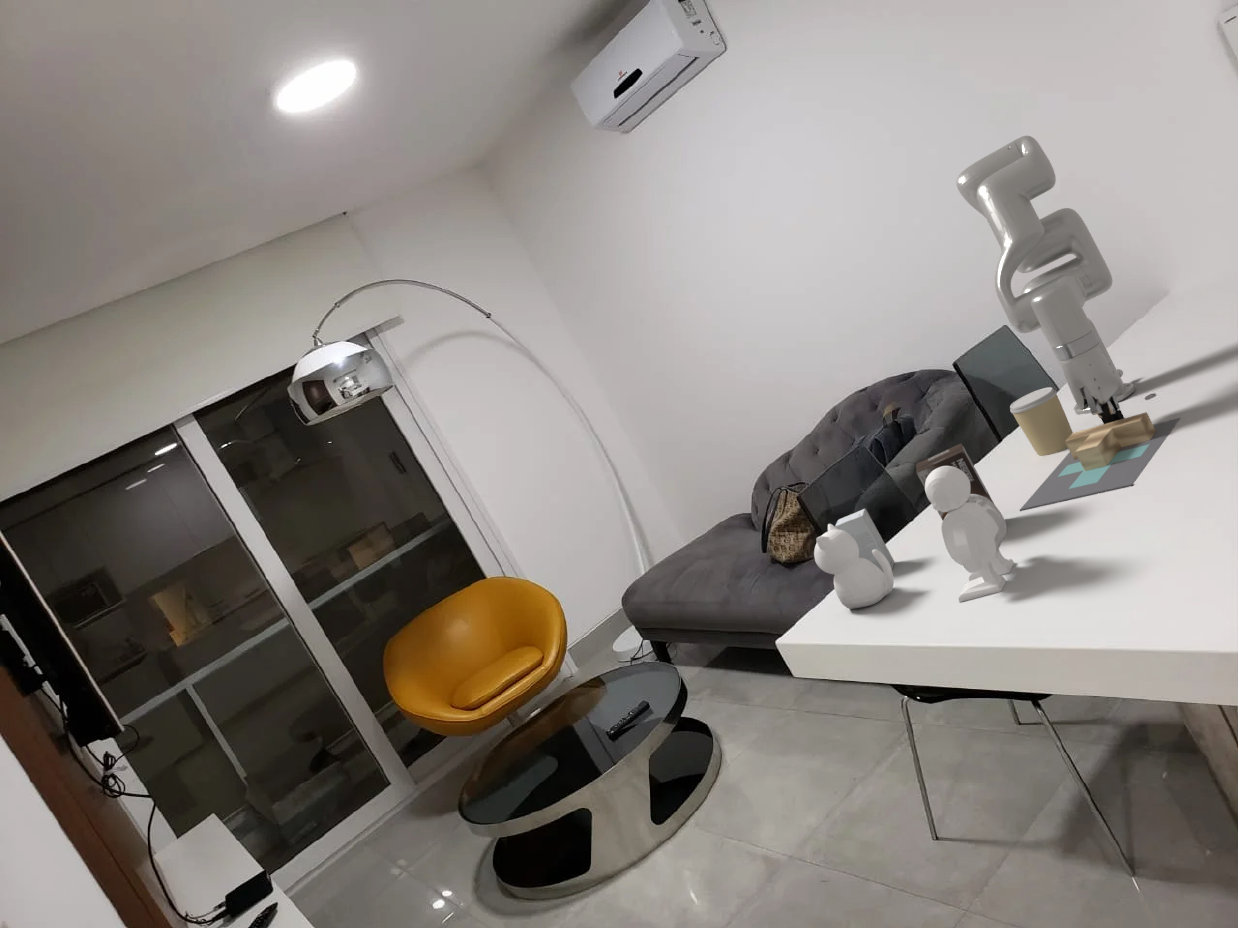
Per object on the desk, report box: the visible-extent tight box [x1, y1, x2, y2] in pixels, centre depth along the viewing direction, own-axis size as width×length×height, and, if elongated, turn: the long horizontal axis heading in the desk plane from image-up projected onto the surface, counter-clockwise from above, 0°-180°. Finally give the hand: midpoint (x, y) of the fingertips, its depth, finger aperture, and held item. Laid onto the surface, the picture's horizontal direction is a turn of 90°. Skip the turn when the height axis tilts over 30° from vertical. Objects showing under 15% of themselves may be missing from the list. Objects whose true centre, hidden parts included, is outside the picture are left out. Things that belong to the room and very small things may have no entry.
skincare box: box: [834, 508, 895, 573], centre depth 169 cm, size 6×4×12 cm
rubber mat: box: [1019, 417, 1181, 512], centre depth 161 cm, size 28×20×1 cm
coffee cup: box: [1009, 386, 1074, 457], centre depth 183 cm, size 9×9×12 cm
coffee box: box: [915, 442, 996, 521], centre depth 160 cm, size 9×6×16 cm
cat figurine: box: [813, 523, 895, 610], centre depth 157 cm, size 9×12×15 cm
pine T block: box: [1065, 411, 1156, 471], centre depth 164 cm, size 12×14×4 cm
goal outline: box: [1058, 444, 1150, 489], centre depth 160 cm, size 13×15×1 cm
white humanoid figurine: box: [924, 466, 1015, 603], centre depth 138 cm, size 14×9×20 cm, turn 142°
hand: (1119, 431), depth 169 cm, fingers closed
